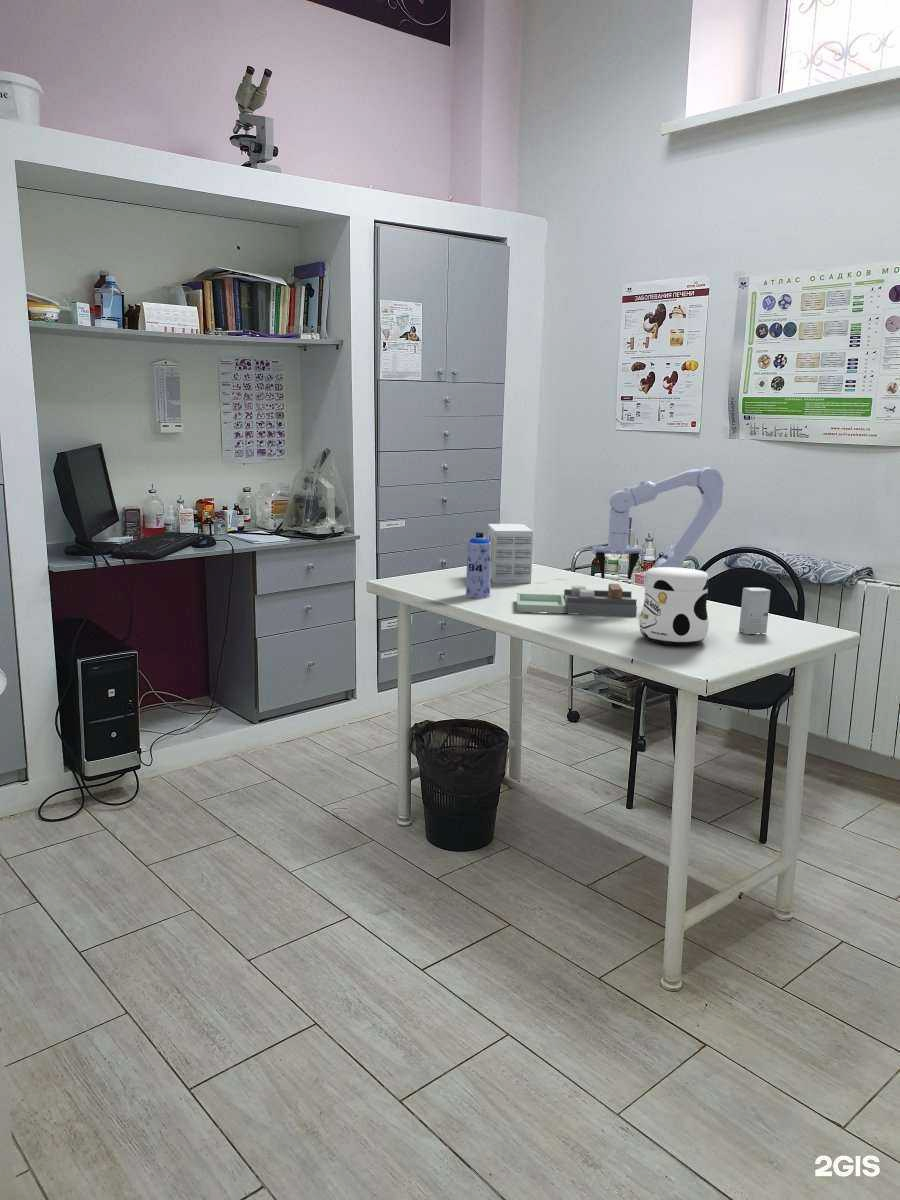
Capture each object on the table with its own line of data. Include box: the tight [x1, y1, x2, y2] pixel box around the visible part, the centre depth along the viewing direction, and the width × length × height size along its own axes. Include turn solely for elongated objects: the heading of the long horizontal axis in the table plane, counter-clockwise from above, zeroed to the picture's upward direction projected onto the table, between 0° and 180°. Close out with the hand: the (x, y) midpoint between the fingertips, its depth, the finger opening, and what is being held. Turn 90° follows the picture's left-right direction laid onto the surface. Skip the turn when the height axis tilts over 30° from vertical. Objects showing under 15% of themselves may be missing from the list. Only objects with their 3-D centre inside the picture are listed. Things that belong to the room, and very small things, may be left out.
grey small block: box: [570, 585, 587, 597], centre depth 271 cm, size 4×4×3 cm
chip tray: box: [516, 592, 566, 613], centre depth 270 cm, size 14×16×2 cm
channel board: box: [563, 588, 638, 617], centre depth 269 cm, size 20×15×4 cm
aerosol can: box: [465, 532, 491, 599], centre depth 283 cm, size 8×8×20 cm
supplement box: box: [487, 523, 534, 584], centre depth 312 cm, size 17×13×18 cm
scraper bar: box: [607, 583, 623, 599], centre depth 268 cm, size 3×9×4 cm, turn 176°
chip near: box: [579, 588, 595, 598], centre depth 266 cm, size 4×4×3 cm
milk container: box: [638, 567, 710, 646], centre depth 233 cm, size 17×17×18 cm
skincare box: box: [738, 587, 771, 635], centre depth 243 cm, size 6×4×12 cm
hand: (615, 578), depth 268 cm, fingers open, 7 cm apart
